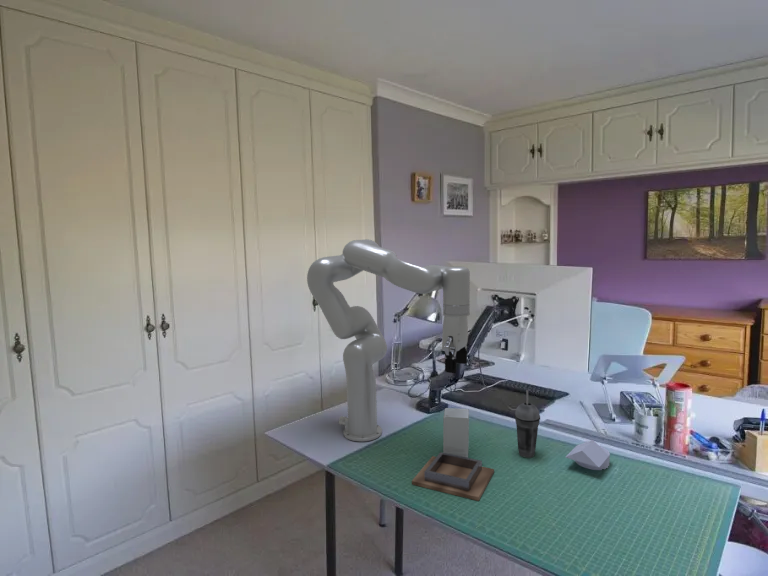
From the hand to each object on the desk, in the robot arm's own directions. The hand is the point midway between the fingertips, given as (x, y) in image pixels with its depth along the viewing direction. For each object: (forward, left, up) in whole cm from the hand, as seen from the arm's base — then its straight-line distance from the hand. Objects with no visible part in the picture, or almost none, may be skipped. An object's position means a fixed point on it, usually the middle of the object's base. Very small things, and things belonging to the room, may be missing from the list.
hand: (456, 367), depth 139 cm
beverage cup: (+19, +8, -26) cm, 34 cm away
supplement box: (0, 0, -26) cm, 26 cm away
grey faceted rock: (+36, +9, -27) cm, 46 cm away
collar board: (+4, -14, -26) cm, 30 cm away
